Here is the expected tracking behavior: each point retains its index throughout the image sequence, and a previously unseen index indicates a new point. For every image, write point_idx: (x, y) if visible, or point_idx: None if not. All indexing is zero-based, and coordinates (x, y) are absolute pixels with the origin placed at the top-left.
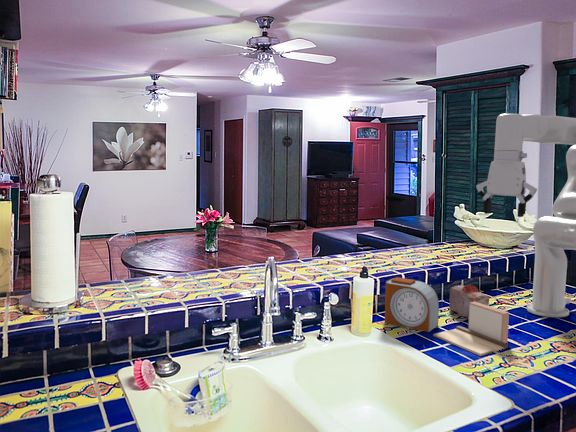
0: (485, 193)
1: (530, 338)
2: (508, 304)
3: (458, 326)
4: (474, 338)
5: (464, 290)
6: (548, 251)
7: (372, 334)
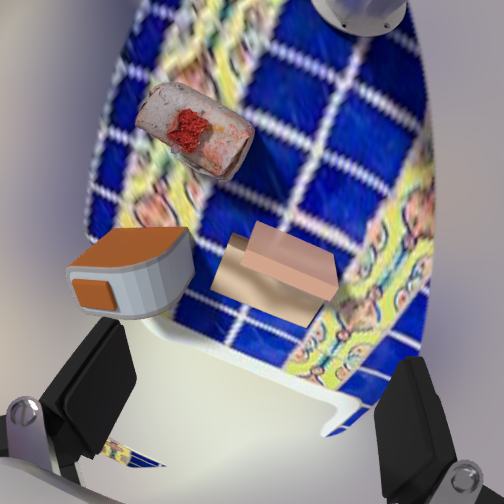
0: (4, 456)
1: (367, 203)
2: None
3: (231, 240)
4: None
5: (178, 144)
6: None
7: (142, 321)
